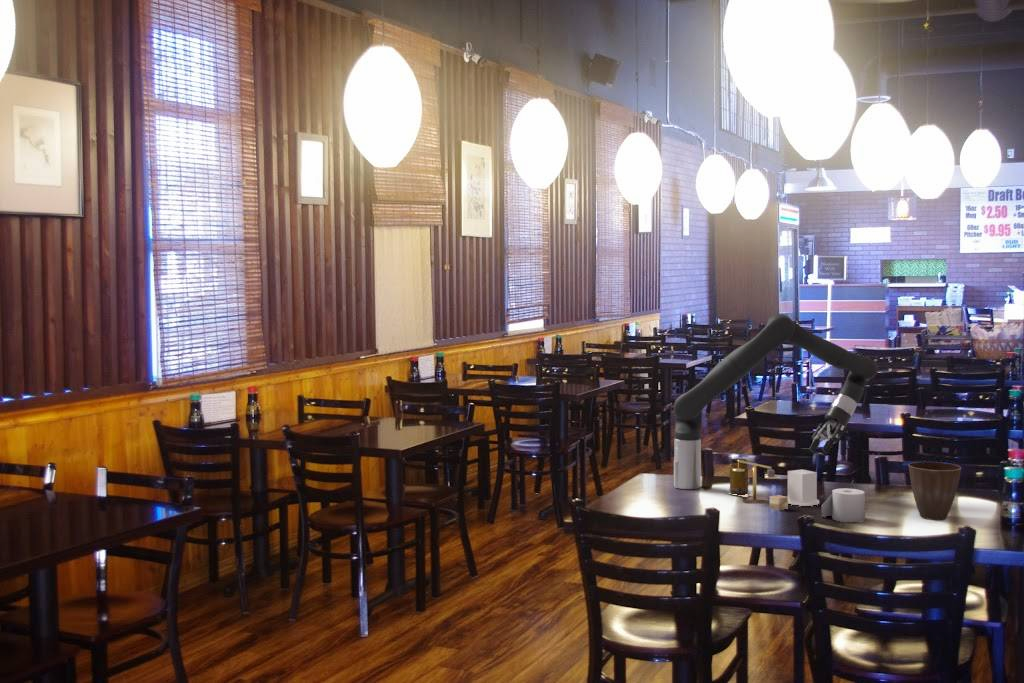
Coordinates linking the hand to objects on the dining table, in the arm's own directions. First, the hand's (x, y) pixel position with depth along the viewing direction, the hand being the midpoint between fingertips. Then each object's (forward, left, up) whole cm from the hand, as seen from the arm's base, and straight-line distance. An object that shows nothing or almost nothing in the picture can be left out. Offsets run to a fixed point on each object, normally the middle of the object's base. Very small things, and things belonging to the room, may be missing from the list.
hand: (818, 451), depth 346 cm
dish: (-7, -8, -16) cm, 19 cm away
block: (-16, -17, -16) cm, 28 cm away
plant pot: (+29, -27, -16) cm, 43 cm away
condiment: (-25, +5, -16) cm, 30 cm away
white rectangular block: (-7, -8, -14) cm, 18 cm away
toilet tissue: (+1, -30, -16) cm, 34 cm away
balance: (-22, -6, -16) cm, 27 cm away
